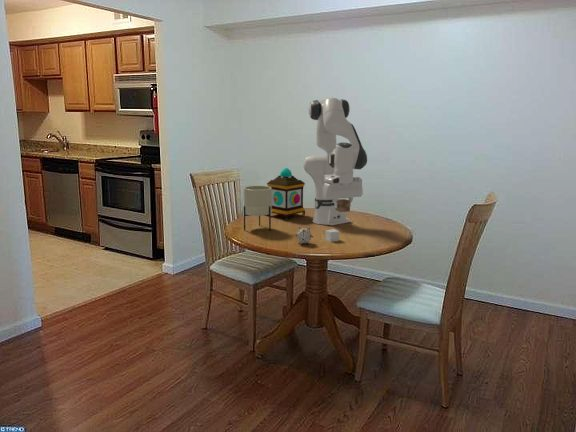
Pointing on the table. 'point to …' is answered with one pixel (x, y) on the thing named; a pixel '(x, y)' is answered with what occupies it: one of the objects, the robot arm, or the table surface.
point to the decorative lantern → (287, 194)
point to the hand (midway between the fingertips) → (342, 207)
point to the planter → (258, 202)
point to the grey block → (332, 235)
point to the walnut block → (343, 205)
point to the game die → (304, 235)
